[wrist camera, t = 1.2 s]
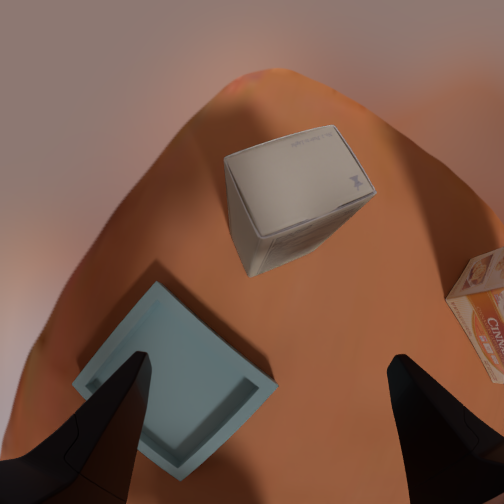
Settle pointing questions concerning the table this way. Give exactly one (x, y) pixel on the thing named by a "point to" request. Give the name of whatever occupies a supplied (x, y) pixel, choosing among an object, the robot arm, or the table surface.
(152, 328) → the tray
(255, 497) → the table surface
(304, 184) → the skincare box
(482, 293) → the coffeecake box
